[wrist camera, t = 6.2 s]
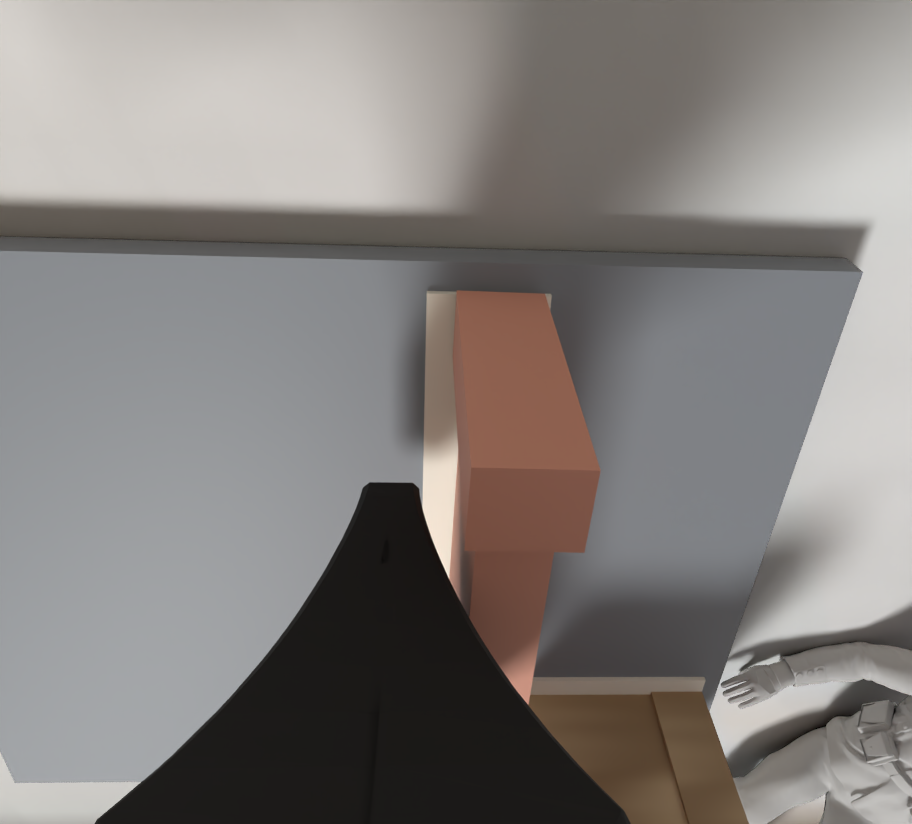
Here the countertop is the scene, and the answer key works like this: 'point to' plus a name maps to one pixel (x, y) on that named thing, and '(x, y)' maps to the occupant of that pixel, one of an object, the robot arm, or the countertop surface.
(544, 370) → the fence panel
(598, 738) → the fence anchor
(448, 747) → the robot arm
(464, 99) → the countertop surface
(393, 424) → the board
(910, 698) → the soldier figure
